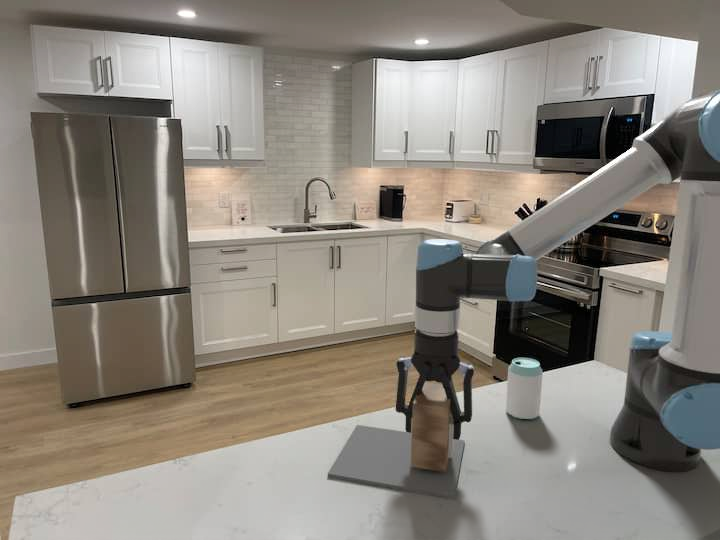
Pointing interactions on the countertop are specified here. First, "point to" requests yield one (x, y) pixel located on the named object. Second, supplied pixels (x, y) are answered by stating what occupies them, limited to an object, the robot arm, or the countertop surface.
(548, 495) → the countertop surface
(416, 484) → the mat
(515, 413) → the can
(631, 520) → the countertop surface
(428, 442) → the walnut block
